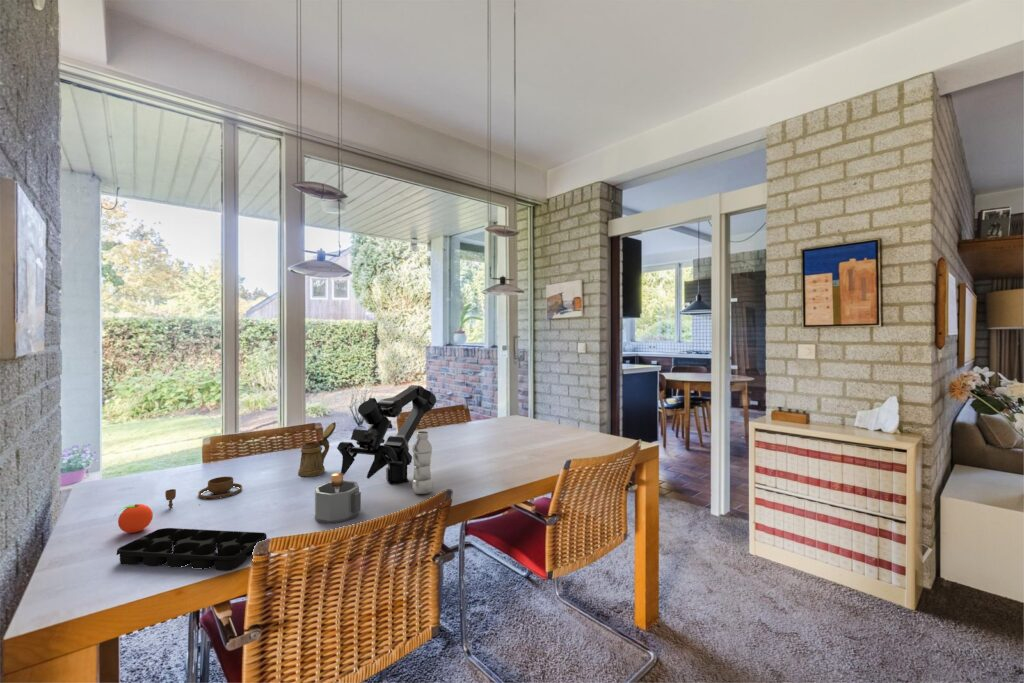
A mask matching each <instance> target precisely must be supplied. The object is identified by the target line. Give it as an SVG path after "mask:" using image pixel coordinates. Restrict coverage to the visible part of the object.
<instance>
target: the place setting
mask: <svg viewBox="0 0 1024 683" xmlns="http://www.w3.org/2000/svg"><path fill="white" fill-rule="evenodd" d="M233 486H235V487H239V488H240V489H238V488H237V490H234V491H231V489H233V488H232V487H233ZM207 490H209V491H208V492H209V493H211V494H213V495H204V494H202V495H201V493H203V492H204V491H207ZM242 490H243V485H242V484H241V483H234V477H232V476H219V477H214V478H211V479H209V480H208V481H207V486H206V487H204V488H202V489H200V490H199V491H198V497H199V498H200V497H201V499H202V498H219V499H221V498H220V497H225V496H229V497H231V496H230V495H232V496H234V495H233V494H235V495H237V494H239V493H240V492H241V491H242ZM229 491H231V492H229ZM226 492H227V493H226ZM238 492H239V493H238ZM222 493H225V494H222ZM236 493H237V494H236ZM164 494H165V496H164V497H165V500H166V501H168V505H167V506H168V509H169V508H172V509H173V506H174V503H173V500H174V499H175V498H176V495H177V489H175V488H171V489H166V490H165V493H164ZM214 494H221V495H214ZM225 498H226V497H225Z"/></svg>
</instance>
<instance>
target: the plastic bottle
mask: <svg viewBox="0 0 1024 683" xmlns="http://www.w3.org/2000/svg"><path fill="white" fill-rule="evenodd" d="M416 439H417V440H416V441H415V442H414V443H413V445H412V458H413V478H412V485H411V487H412V492H413V493H414V494H417V495H425V494H429V493H431V491H432V488H433V481H432V480H433V479H432V474H431V473H432V472H431V462H432V460H431V458H432V454H433V446H432V444H431V442H430V441H429V431H425V430H424V431H423V430H422V431H421V430H420V431H417V432H416Z"/></svg>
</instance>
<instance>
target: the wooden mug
mask: <svg viewBox="0 0 1024 683" xmlns="http://www.w3.org/2000/svg"><path fill="white" fill-rule="evenodd" d="M336 427H337V426H336V422H335V421H334V422H332V423H331V424H329V425H328V426H326V428H325V429H324V431H323V433H322V438H321V439H318V440H317V441H306V442H303V443H302V445H301V446H302V447H301V448H300V453H301V455H300V456H301V457H300V464H299V469H298V471H297V472H298V473H297V475H298V476H300V477H304V476H306V477H307V476H310V477H316V476H319V474H320V475H323V474H324V473H325V472H326V471H325V468H326V467H325V466H324V462H325V459H326V456H327V454H328V453H329V450H330V441H329V439H328V438H330V437H331V436H332V434H333V433H334V431H335V429H336ZM323 447H324V449H323ZM322 450H323V451H322ZM315 475H316V476H315ZM306 477H305V478H306ZM307 478H308V477H307Z"/></svg>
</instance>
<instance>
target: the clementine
mask: <svg viewBox="0 0 1024 683" xmlns="http://www.w3.org/2000/svg"><path fill="white" fill-rule="evenodd" d="M121 510H123V511H122V512H121V513H120V514H119V516H118V518H117V524H118V527H119V528H120V530H121V531H123V532H125V533H130V534H133V533H139V532H141V531H143V530H144V529H146V528H148V526H149V525H150V524H151V522H152V520H153V516H154V515H153V514H154V513H153V510H152V509H151V507H149V506H148V505H145V504H143V503H138V504H136V503H135V504H131V505H128V506H125V507H123V508H120V510H118V512H120V511H121ZM116 514H117V513H115V514H114V516H116Z"/></svg>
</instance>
